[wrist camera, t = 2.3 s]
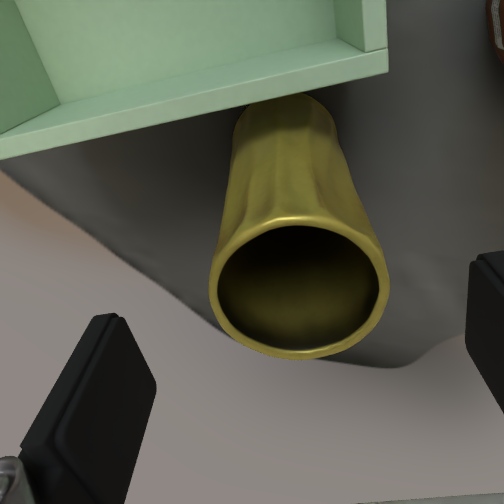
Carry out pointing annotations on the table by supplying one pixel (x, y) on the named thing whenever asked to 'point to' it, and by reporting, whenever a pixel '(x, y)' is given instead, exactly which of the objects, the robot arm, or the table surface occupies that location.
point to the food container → (496, 25)
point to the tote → (169, 60)
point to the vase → (294, 238)
